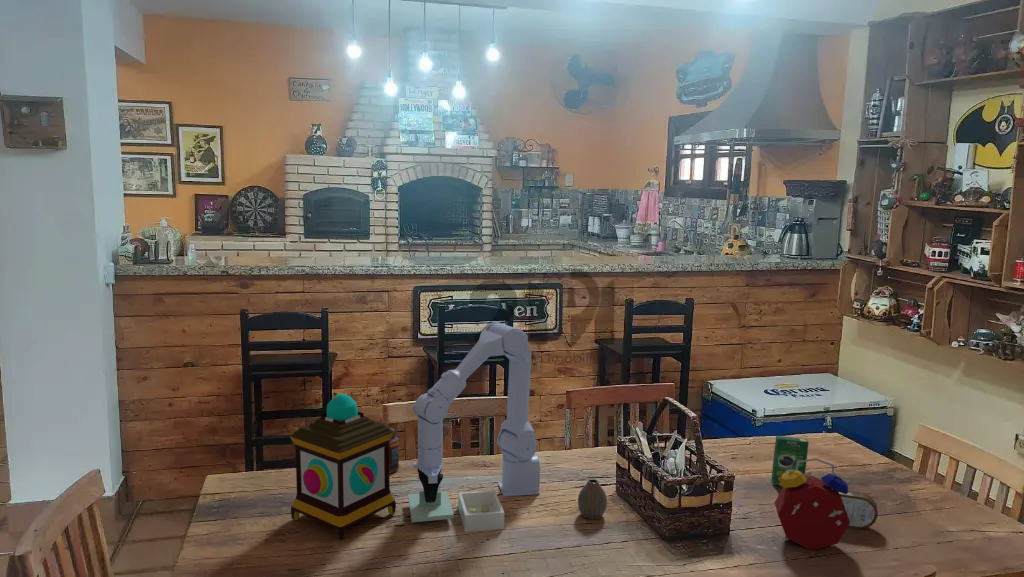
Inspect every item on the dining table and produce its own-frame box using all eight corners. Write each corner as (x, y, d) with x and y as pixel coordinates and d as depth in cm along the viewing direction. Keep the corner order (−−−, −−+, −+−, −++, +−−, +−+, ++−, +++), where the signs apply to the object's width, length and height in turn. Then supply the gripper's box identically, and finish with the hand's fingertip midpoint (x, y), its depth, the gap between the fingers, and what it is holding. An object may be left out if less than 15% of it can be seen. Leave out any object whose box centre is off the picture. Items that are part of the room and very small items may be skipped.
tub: (494, 505, 177) (495, 490, 176) (504, 528, 165) (504, 512, 164) (458, 508, 175) (458, 492, 174) (465, 532, 163) (465, 515, 163)
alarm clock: (841, 540, 162) (849, 456, 159) (849, 560, 154) (858, 471, 151) (771, 532, 166) (778, 449, 162) (776, 551, 157) (783, 464, 154)
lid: (447, 497, 178) (447, 479, 178) (453, 520, 166) (453, 502, 165) (408, 500, 176) (407, 482, 176) (411, 524, 164) (411, 505, 163)
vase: (610, 512, 174) (611, 478, 173) (601, 524, 168) (602, 489, 166) (583, 506, 177) (584, 473, 175) (573, 518, 171) (574, 483, 169)
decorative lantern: (347, 491, 183) (345, 377, 178) (404, 513, 172) (404, 391, 167) (281, 521, 167) (277, 396, 162) (339, 547, 156) (337, 414, 151)
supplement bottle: (401, 466, 199) (401, 427, 198) (395, 474, 193) (395, 434, 192) (380, 464, 200) (379, 425, 198) (374, 473, 194) (373, 433, 192)
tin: (875, 527, 169) (878, 493, 168) (877, 533, 166) (880, 498, 165) (806, 516, 174) (809, 483, 173) (806, 522, 171) (809, 488, 170)
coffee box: (802, 484, 192) (806, 437, 190) (805, 488, 189) (809, 441, 187) (771, 481, 194) (774, 434, 192) (772, 485, 191) (776, 438, 189)
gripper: (410, 435, 175) (411, 487, 177) (415, 458, 161) (415, 515, 163) (439, 433, 176) (439, 485, 178) (446, 456, 162) (446, 512, 164)
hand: (430, 499), depth 171 cm, fingers closed on lid
